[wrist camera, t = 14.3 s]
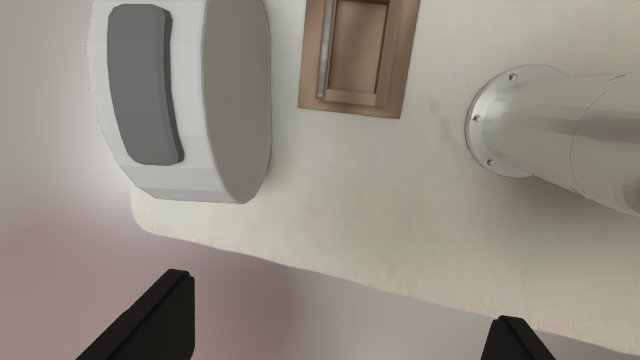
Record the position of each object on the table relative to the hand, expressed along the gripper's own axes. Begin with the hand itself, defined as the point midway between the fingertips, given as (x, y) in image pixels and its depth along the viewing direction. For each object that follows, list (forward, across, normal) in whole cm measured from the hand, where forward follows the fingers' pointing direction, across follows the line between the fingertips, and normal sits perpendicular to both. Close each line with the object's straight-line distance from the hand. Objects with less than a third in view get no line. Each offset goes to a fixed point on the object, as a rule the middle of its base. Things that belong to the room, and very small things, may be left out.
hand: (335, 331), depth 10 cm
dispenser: (+30, 0, -12) cm, 33 cm away
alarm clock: (+31, +13, -6) cm, 34 cm away
